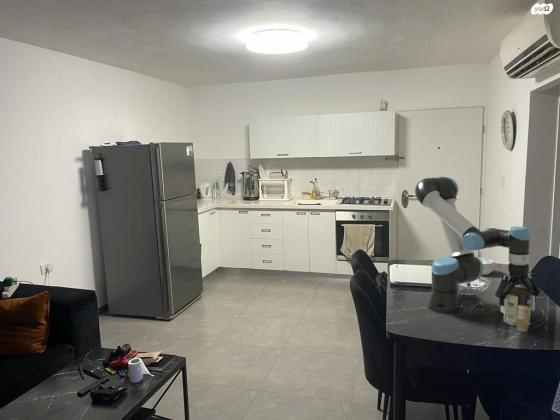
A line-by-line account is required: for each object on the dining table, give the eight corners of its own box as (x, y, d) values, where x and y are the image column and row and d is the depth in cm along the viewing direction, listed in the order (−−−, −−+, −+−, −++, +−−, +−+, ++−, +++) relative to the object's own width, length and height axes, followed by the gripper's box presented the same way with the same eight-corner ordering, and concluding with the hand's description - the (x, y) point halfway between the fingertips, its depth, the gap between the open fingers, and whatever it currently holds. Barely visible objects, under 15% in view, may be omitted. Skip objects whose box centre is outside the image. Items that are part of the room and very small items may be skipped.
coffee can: (530, 319, 180) (531, 288, 178) (530, 328, 171) (531, 295, 169) (503, 315, 185) (504, 285, 183) (502, 323, 176) (503, 292, 175)
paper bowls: (462, 270, 258) (462, 258, 257) (485, 269, 260) (485, 256, 259) (476, 277, 243) (476, 264, 242) (500, 275, 245) (500, 262, 244)
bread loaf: (521, 332, 167) (522, 308, 166) (514, 328, 171) (515, 305, 170) (530, 331, 168) (531, 307, 167) (522, 327, 172) (524, 304, 171)
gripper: (498, 267, 169) (497, 317, 172) (551, 262, 174) (549, 311, 176) (486, 263, 177) (485, 311, 179) (537, 258, 181) (535, 305, 183)
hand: (517, 311), depth 177 cm, fingers open, 13 cm apart
